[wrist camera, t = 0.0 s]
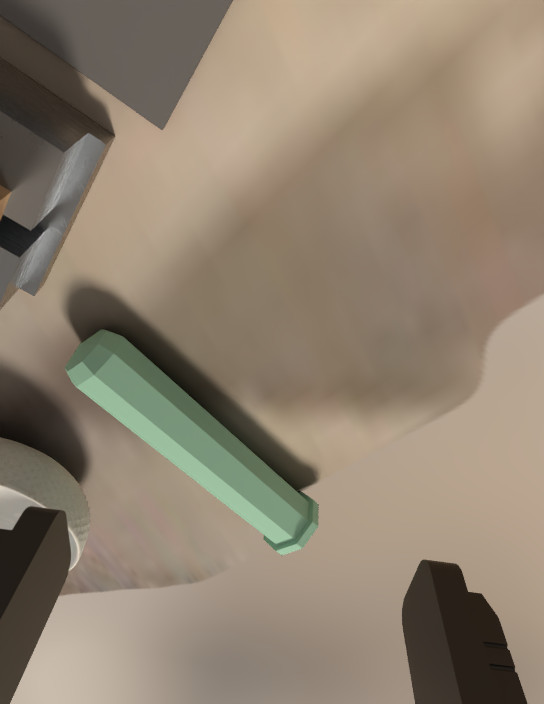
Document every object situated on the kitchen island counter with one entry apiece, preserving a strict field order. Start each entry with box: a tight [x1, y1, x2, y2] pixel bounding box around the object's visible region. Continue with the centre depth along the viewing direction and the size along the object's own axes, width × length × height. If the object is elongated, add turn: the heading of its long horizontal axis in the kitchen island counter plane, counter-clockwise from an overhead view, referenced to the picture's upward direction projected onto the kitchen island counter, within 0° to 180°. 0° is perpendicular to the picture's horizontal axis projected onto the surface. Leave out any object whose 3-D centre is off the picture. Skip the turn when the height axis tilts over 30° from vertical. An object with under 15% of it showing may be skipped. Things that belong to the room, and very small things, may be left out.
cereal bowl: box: [0, 437, 90, 572], centre depth 45 cm, size 17×17×7 cm
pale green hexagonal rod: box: [65, 329, 318, 555], centre depth 40 cm, size 6×6×25 cm
